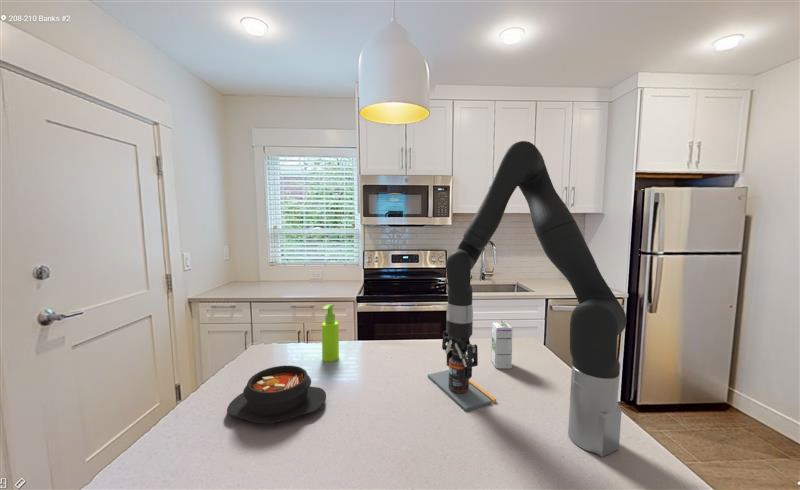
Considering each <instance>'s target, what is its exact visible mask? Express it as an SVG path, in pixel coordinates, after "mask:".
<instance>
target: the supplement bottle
mask: <svg viewBox="0 0 800 490" xmlns="http://www.w3.org/2000/svg"><path fill="white" fill-rule="evenodd" d="M466 354H467V352H466V353H464V354H463V355H466ZM466 361H467V362H468V358H466ZM448 370H449V389H450V390H451V391H453V392H456V393H464V392H467V391H468V389H469V379H464V363H463V361H462V359H460V356H459V354H458V353H457V352H455V351H452V357H451V358H450V359H449V367H448Z"/></svg>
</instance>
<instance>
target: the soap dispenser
mask: <svg viewBox="0 0 800 490" xmlns="http://www.w3.org/2000/svg"><path fill="white" fill-rule="evenodd" d="M333 307H335V303H328V304H326V305H324V306H323V307H322V308H321V309H322V310H325V311H326V310H327V312H326V313H325V314H324V315H325V316H324V317H325V321H323V322H322V323H321V353H322V354H321V359H322V361H324V362H329V363H331V362H335V361H337V360H339V358H340V355H339V354H340V353H339V350H340V349H339V348H340V347H339V346H340V343H339V340H340V339H339V338H340V336H339V334H340V333H339V324H340V323H339V321H337V320H336V313H335V312H334V310H333Z"/></svg>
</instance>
